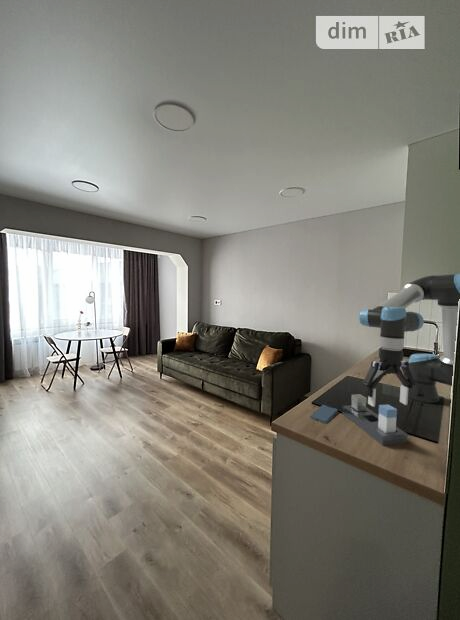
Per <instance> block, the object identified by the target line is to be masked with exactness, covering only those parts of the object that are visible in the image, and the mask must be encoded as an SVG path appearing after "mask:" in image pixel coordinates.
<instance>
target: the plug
mask: <svg viewBox="0 0 460 620" xmlns="http://www.w3.org/2000/svg"><path fill="white" fill-rule="evenodd" d="M378 415H379V418H378V428H379V429H381V430H382V431H383V432H385V433H394V432H396V427H397V418H398V417H397V415H398V409H397V408H396V407H394V406H392V405H390V404H379V405H378Z"/></svg>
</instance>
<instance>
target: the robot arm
mask: <svg viewBox="0 0 460 620" xmlns="http://www.w3.org/2000/svg"><path fill="white" fill-rule="evenodd" d="M459 299H460V273H456V274H455V273H453V274H438V275H427V276H424V277H419V278H417V279H415V280H413V281H410V282H409V283H407V284H406V285H404V286H403V287H402V288H401V290H400V291H398V292H397V293H396V294H394V295H392V296H391V297H389V298H388V299H386V300H385V301H383V302H382V303H380V304H378V305H377V306H375V307H374V308H373V309H372V308H368V309H362V310H361V311H360V313H359V316H358V321H359V323H360V325H362V326H364V327H369V328H376V329H377V328H379V329H380V335H379V349H378V357H379V361H376V360H372V361H371V364H370V367H369V370H368V371H367V373H366V375H365V377H364V379H363V381H362V383H361V384H362V386H364V387H366V395H367V404H368V405H370V406H371V407H373V408H375V407H376V397H377V396H376V395H377V393H376V391H377V389H376V386H377V385H378V384H379V382H380V381H381V380H382V379H383V378H384V376H386V375H391V374H392V375H395V376H396V377H397V379H398V380H399V381H400V383H401V385H400V389H399V391H400V392H399V403H401V404H403V405H404V406H408V400H409V399H411V400H414V401H418V402H422V403H428V404H435V403H439V402H440V395H439V393H438V389H437V385H436V384H437V383H439V384H443V385H446V386H451V387H453V386H452V376H453V364H454V352H455V341H456V326H457V312H458V301H459ZM425 300H426V301H431V300H432V301H433V300H434V301H437V306H439V307H440V308H441V318H442V319H441V321H442V349H443V352H442V355H441V356H440V357H439V356H438V355H436V354H432V353H413V354H411V355H410V356H409V360H408V361H407V360H403V359H404V351H403V349H404V348H405V347H404V346H405V332H406V333H407V332H416V331H418V330H420V329H421V328H422V327H423V326H424V324H425V323H424V322H425V320H424V319H425V318H424V317H423V316H422V314H420V313H418V312H415V311H407V310H406V309H407V308H408V307H410V306H411V305H412V304H414V303H418V302H421V301H425Z"/></svg>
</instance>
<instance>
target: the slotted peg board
mask: <svg viewBox="0 0 460 620" xmlns="http://www.w3.org/2000/svg"><path fill="white" fill-rule="evenodd" d="M350 401H351V405H342V408H341V409H342V414H343V415H344V416H345V417H346V418H348V419H349V420H350V421H351V422H353V423H354V424H355V425H356V426H358V427H359V428H360V429H361V430H363V431H364V432H365V433H367V435H368V436H370V437H371V438H373V440H375V441H376V442H378V443H379V444H380V445H381V446H389V445H398V444H399V445H400V444H407V443H408V433H407V432H406V431H404V430H402V429H401V428H399V427H398V426H396V432H394V433H385V432H383V431H382V430H381V429H379V428H378V418H379V413H378V414H377V413H376V412H374V411H373V410H372V409H370V408H368V407H367V402H368V397H366V396H364V395H363V394H361V393H358V394H357V393H356V394H351V399H350Z"/></svg>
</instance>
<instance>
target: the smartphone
mask: <svg viewBox="0 0 460 620" xmlns="http://www.w3.org/2000/svg"><path fill="white" fill-rule="evenodd" d="M338 412H339V410H338V409H337V408H335V407H332V406H329V405H326V404H322V405H320V406H319V407H318V409H316V410H315V411H314V412H313V413H312V414H310V415H309V418H310V419H311V420H313V421H317V422H319V423H321V424H328V423H329V422H330V420H332V418H334V417H335V416H336V414H338Z"/></svg>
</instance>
